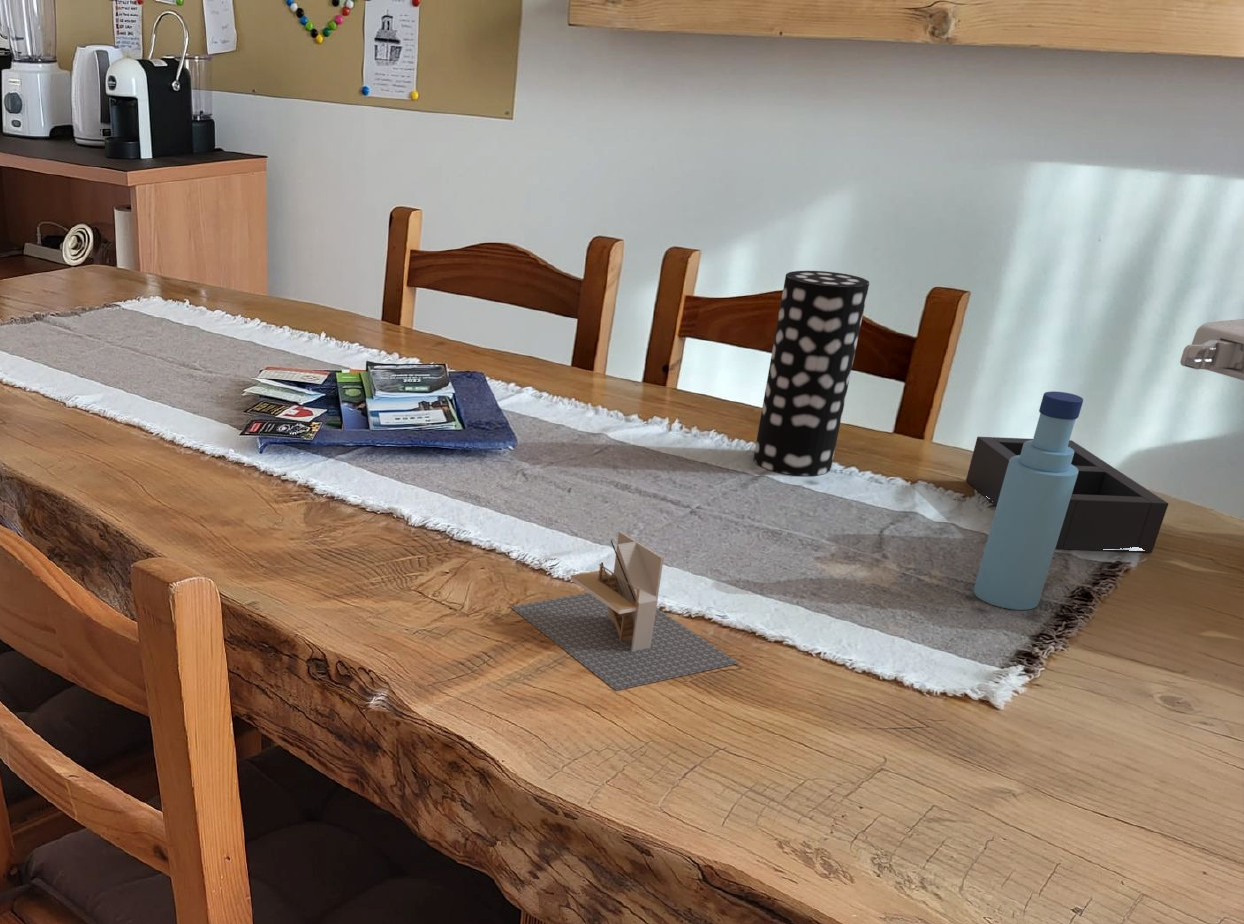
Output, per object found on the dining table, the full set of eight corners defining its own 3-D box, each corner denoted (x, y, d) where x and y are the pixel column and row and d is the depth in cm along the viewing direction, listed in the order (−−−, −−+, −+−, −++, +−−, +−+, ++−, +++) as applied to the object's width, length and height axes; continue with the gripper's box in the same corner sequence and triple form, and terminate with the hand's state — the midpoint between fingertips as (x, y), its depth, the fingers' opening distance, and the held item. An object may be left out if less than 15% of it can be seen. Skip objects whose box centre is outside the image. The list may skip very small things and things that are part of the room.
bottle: (1022, 585, 110) (1080, 388, 102) (1049, 611, 106) (1112, 406, 98) (963, 583, 110) (1017, 385, 102) (988, 609, 106) (1046, 404, 98)
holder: (1058, 484, 135) (1072, 440, 133) (1152, 552, 119) (1169, 503, 116) (965, 480, 135) (977, 436, 133) (1045, 548, 119) (1060, 499, 116)
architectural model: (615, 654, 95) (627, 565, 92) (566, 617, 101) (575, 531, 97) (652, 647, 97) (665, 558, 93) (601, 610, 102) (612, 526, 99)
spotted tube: (846, 468, 137) (886, 282, 128) (796, 480, 133) (834, 289, 124) (787, 446, 143) (820, 268, 134) (737, 457, 139) (768, 274, 130)
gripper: (1480, 439, 96) (1334, 444, 93) (1259, 377, 114) (1130, 379, 111) (1513, 357, 94) (1364, 359, 91) (1282, 306, 112) (1151, 307, 109)
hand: (1234, 370), depth 101 cm, fingers open, 8 cm apart
